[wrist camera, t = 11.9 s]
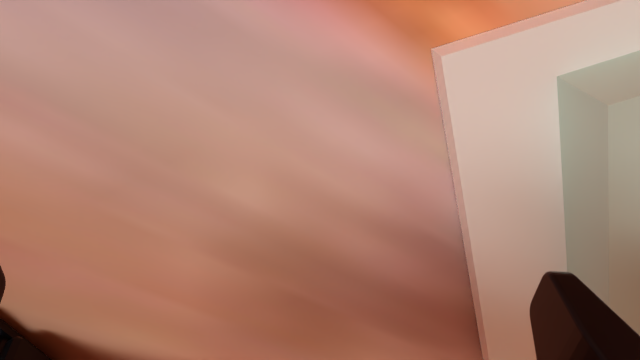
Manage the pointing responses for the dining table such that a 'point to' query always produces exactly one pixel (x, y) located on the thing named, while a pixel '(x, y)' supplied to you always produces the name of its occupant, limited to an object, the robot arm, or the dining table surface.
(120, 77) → the dining table surface
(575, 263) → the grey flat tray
